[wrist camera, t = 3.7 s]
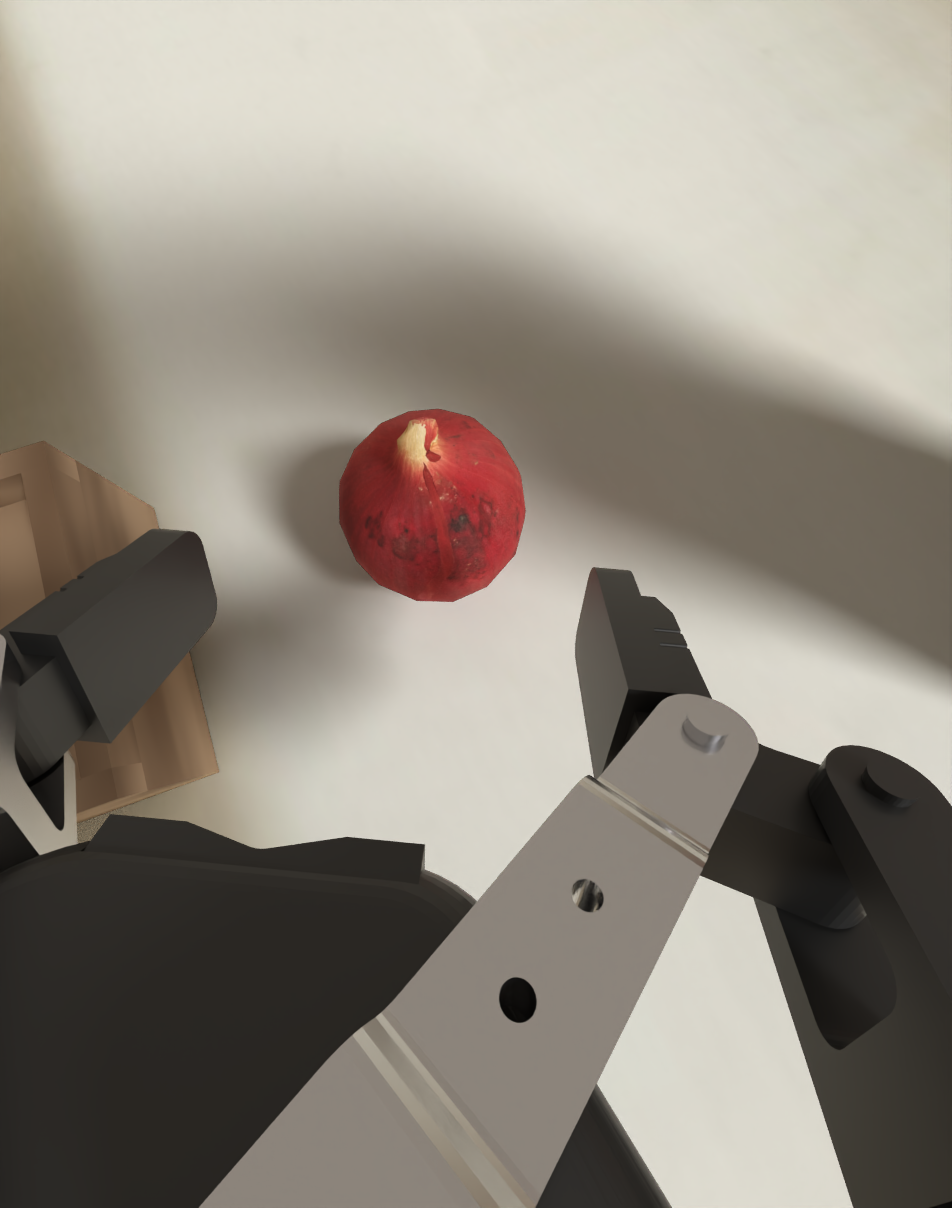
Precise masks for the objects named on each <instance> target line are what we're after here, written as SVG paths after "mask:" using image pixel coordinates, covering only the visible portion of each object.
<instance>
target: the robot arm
mask: <svg viewBox="0 0 952 1208" xmlns="http://www.w3.org/2000/svg"><path fill="white" fill-rule="evenodd" d="M216 611H217V598H216V593H215V589H214V586H213V582H212V578H211V574H210V570H209V567H208V563H207V559H206V555H205V551H204V548H203V544H202V541H201V539H200V538H199V536H198V535H197V534H196V533H194V532H191V531H179V530H168V529H151V530H149V531H147V532H146V533H145V534H143V535H142V536H140V537H139V538H138V539H136V540H135V541H133V542H132V543H131V544H129V545H128V546H126V547H125V548H124V549H122V550H121V551H119V552H118V553H117V554H114V555H112V556H109V557H107V558H105V559H102V560H100V561H98V562H96V563H95V564H93V565H92V566H90V567H89V568H88V569H86V570H85V571H83V572H82V573H80V574H79V575H78V576H77V579H72V580H70V581H69V582H68V583H66V584H65V585H63V586H62V587H61V588H60V591H55V592H53V593H52V594H51V595H49V596H48V597H46V598H45V599H43V600H42V601H41V602H39V603H38V604H36V605H35V606H33V607H32V608H31V609H29V610H28V611H26V612H25V613H24V614H22V615H21V616H19V617H18V618H16V619H15V620H14V621H12V622H11V623H9V624H8V625H6V626H5V627H4V628H2V629H1V630H0V1208H672V1207H671V1205H670V1204H669V1202H668V1200H667V1199H666V1197H665V1195H664V1194H663V1192H662V1190H661V1189H660V1187H659V1186H658V1184H657V1182H656V1181H655V1179H654V1177H653V1176H652V1174H651V1172H650V1171H649V1169H648V1167H647V1166H646V1164H645V1163H644V1161H643V1159H642V1158H641V1156H640V1154H639V1153H638V1151H637V1149H636V1148H635V1146H634V1144H633V1143H632V1141H631V1139H630V1138H629V1136H628V1135H627V1133H626V1131H625V1130H624V1128H623V1126H622V1125H621V1123H620V1121H619V1120H618V1118H617V1116H616V1115H615V1113H614V1112H613V1110H612V1108H611V1107H610V1105H609V1103H608V1102H607V1100H606V1098H605V1097H604V1095H603V1093H602V1092H601V1090H600V1089H599V1087H598V1085H597V1081H598V1079H599V1077H600V1075H601V1073H602V1071H603V1069H604V1067H605V1065H606V1063H607V1061H608V1059H609V1057H610V1055H611V1053H612V1051H613V1049H614V1047H615V1045H616V1043H617V1041H618V1039H619V1037H620V1035H621V1033H622V1031H623V1029H624V1027H625V1025H626V1023H627V1021H628V1019H629V1017H630V1015H631V1013H632V1011H633V1009H634V1007H635V1005H636V1003H637V1001H638V999H639V997H640V995H641V993H642V991H643V989H644V987H645V985H646V983H647V981H648V979H649V977H650V975H651V973H652V970H653V968H654V966H655V964H656V962H657V960H658V958H659V956H660V954H661V952H662V950H663V948H664V946H665V944H666V942H667V940H668V938H669V936H670V934H671V932H672V930H673V928H674V926H675V924H676V922H677V920H678V918H679V916H680V914H681V912H682V910H683V908H684V906H685V904H686V902H687V900H688V898H689V896H690V894H691V892H692V890H693V888H694V886H695V884H696V882H697V880H698V878H699V876H703V877H705V878H708V879H710V880H713V881H715V882H717V883H720V884H722V885H725V886H727V887H730V888H732V889H734V890H737V891H739V892H742V893H744V894H746V895H749V896H751V897H753V898H754V901H755V904H756V908H757V911H758V914H759V917H760V920H761V923H762V926H763V929H764V932H765V935H766V938H767V942H768V945H769V948H770V951H771V954H772V957H773V960H774V963H775V966H776V969H777V973H778V976H779V979H780V982H781V985H782V988H783V991H784V994H785V997H786V1000H787V1004H788V1007H789V1010H790V1013H791V1016H792V1019H793V1022H794V1025H795V1028H796V1031H797V1034H798V1038H799V1041H800V1044H801V1047H802V1050H803V1053H804V1056H805V1059H806V1062H807V1065H808V1069H809V1072H810V1075H811V1078H812V1081H813V1084H814V1087H815V1090H816V1093H817V1096H818V1099H819V1103H820V1106H821V1109H822V1112H823V1115H824V1118H825V1121H826V1124H827V1127H828V1130H829V1134H830V1137H831V1140H832V1143H833V1146H834V1149H835V1152H836V1155H837V1158H838V1161H839V1165H840V1168H841V1171H842V1174H843V1177H844V1180H845V1183H846V1186H847V1189H848V1192H849V1195H850V1199H851V1202H852V1205H853V1208H952V806H951V805H950V803H949V802H948V801H947V799H946V798H945V797H944V796H943V794H942V793H941V792H940V791H939V790H938V788H937V787H936V786H935V785H934V784H932V783H931V782H930V781H929V780H928V779H927V778H926V777H925V776H923V775H922V774H921V773H920V772H918V771H917V770H915V769H914V768H912V767H911V766H909V765H908V764H906V763H904V762H902V761H901V760H899V759H897V758H895V757H893V756H891V755H889V754H886V753H883V752H881V751H878V750H875V749H871V748H868V747H862V746H854V745H848V746H841V747H837V748H835V749H833V750H831V752H830V753H829V754H828V755H827V756H826V758H825V759H824V761H823V762H822V764H821V765H819V764H816V763H813V762H810V761H807V760H804V759H801V758H798V757H795V756H792V755H788V754H785V753H782V752H779V751H776V750H773V749H771V748H768V747H765V746H763V745H761V744H759V743H758V740H757V737H756V735H755V733H754V731H753V729H752V728H751V726H750V725H749V724H748V723H747V722H746V720H745V719H744V718H743V717H741V716H740V715H739V714H738V713H737V712H735V711H734V710H732V709H731V708H729V707H728V706H726V705H724V704H722V703H720V702H718V701H716V700H713V699H712V698H711V695H710V693H709V691H708V689H707V687H706V685H705V682H704V680H703V678H702V676H701V674H700V672H699V669H698V667H697V665H696V663H695V661H694V658H693V656H692V654H691V652H690V650H689V649H687V643H686V641H685V639H684V637H683V635H682V634H680V631H681V630H680V628H679V626H678V624H677V622H676V619H675V617H674V615H673V613H672V612H671V611H670V610H669V609H668V608H666V607H665V606H664V605H663V604H662V603H661V602H660V601H659V600H658V599H657V598H655V597H647V596H641V594H640V592H639V589H638V587H637V584H636V581H635V579H634V576H633V574H632V572H631V571H629V570H618V569H607V568H595V567H594V568H592V570H591V572H590V574H589V578H588V582H587V587H586V591H585V596H584V601H583V605H582V610H581V614H580V619H579V624H578V628H577V634H576V643H575V658H576V665H577V672H578V678H579V684H580V691H581V697H582V703H583V710H584V716H585V723H586V729H587V735H588V742H589V748H590V754H591V761H592V767H593V773H594V778H593V777H592V776H590V775H588V776H585V777H584V778H583V779H581V780H580V781H579V782H578V783H577V784H576V786H575V787H574V788H573V789H572V790H571V791H570V793H569V794H568V795H567V796H566V797H565V798H564V800H563V801H562V802H561V803H560V804H559V805H558V807H557V808H556V809H555V810H554V811H553V813H552V814H551V815H550V816H549V817H548V818H547V820H546V821H545V822H544V823H543V824H542V826H541V827H540V828H539V829H538V830H537V831H536V833H535V834H534V835H533V836H532V837H531V839H530V840H529V841H528V842H527V843H526V844H525V846H524V847H523V848H522V849H521V850H520V852H519V853H518V854H517V855H516V856H515V857H514V859H513V860H512V861H511V862H510V863H509V865H508V866H507V867H506V868H505V869H504V870H503V872H502V873H501V874H500V875H499V876H498V878H497V879H496V880H495V881H494V882H493V883H492V885H491V886H490V887H489V888H488V889H487V891H486V892H485V893H484V894H483V895H482V896H481V898H480V899H479V900H478V901H476V900H475V899H474V898H473V897H472V896H471V895H469V894H468V893H467V892H465V891H464V890H462V889H461V888H460V887H458V886H457V885H456V884H454V883H452V882H450V881H448V880H447V879H445V878H443V877H441V876H439V875H437V874H435V873H432V872H430V871H427V870H425V844H414V843H404V842H393V841H383V840H373V839H362V838H352V837H344V838H337V839H330V840H323V841H316V842H309V843H302V844H295V845H289V846H282V847H275V848H268V849H256V848H252V847H249V846H247V845H244V844H242V843H239V842H237V841H234V840H232V839H229V838H227V837H224V836H222V835H219V834H217V833H214V832H212V831H209V830H207V829H204V828H202V827H199V826H197V825H194V824H192V823H189V822H186V821H176V820H165V819H155V818H145V817H134V816H124V815H114V814H110V815H109V817H108V818H107V819H106V821H105V822H104V823H103V825H102V826H101V828H100V829H99V830H98V832H97V833H96V834H95V836H94V837H93V838H92V840H91V841H87V842H83V843H79V844H77V816H76V781H75V762H74V759H73V757H72V755H71V754H70V752H69V750H68V749H69V748H70V747H71V746H72V745H73V744H74V743H75V742H76V741H88V742H99V743H109V744H111V743H112V741H113V740H114V739H115V738H116V737H117V736H118V734H119V733H120V732H121V731H122V730H123V729H124V727H125V726H126V725H127V724H128V723H129V721H130V720H131V719H132V718H133V717H134V716H135V714H136V713H137V712H138V711H139V710H140V708H141V707H142V706H143V705H144V704H145V703H146V701H147V700H148V699H149V698H150V697H151V696H152V694H153V693H154V692H155V691H156V690H157V688H158V687H159V686H160V685H161V684H162V683H163V681H164V680H165V679H166V678H167V677H168V676H169V674H170V673H171V672H172V671H173V670H174V668H175V667H176V666H177V665H178V664H179V663H180V661H181V660H182V659H183V658H184V657H185V656H186V654H187V653H188V652H189V651H190V650H191V648H192V647H193V646H194V645H195V644H196V643H197V641H198V640H199V639H200V638H201V637H202V636H203V634H204V633H205V632H206V631H207V630H208V628H209V627H210V626H211V625H212V623H213V621H214V618H215V615H216Z"/></svg>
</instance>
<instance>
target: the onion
mask: <svg viewBox="0 0 952 1208" xmlns="http://www.w3.org/2000/svg"><path fill="white" fill-rule="evenodd" d="M525 511H526V510H525V502H524V495H523V487H522V479H521V476H520V473H519V471H518V468H517V467H516V465H515V463H514V462H513V460H512V459H511V457H510V455H509V454H508V452H507V451H506V449H505V447H504V446H503V444H502V442H501V441H500V440H499V439H498V438H497V437H495V436H494V435H493V434H492V433H491V432H490V431H488V430H487V429H486V428H485V427H484V426H483V425H481V424H480V423H479V422H478V421H477V420H476V419H474V418H472V417H470V416H466V415H462V414H458V413H454V412H450V411H445V410H441V409H431V410H419V411H409V412H406V413H404V414H402V415H399V416H397V417H395V418H392V419H390V420H387V421H385V422H383V423H381V424H380V425H379V426H378V427H377V428H376V429H375V430H374V431H373V432H372V433H371V434H370V435H369V436H368V437H367V438H365V439H364V440H363V441H362V442H361V443H360V444H359V445H358V446H357V447H356V448H355V449H354V451H353V453H352V456H351V458H350V460H349V462H348V464H347V467H346V469H345V471H344V473H343V475H342V478H341V480H340V485H339V519H340V525H341V527H342V530H343V532H344V534H345V536H346V539H347V541H348V543H349V546H350V548H351V550H352V552H353V555H354V557H355V559H356V561H357V562H358V563H359V564H360V565H361V566H362V567H363V568H364V569H365V571H366V572H367V573H368V574H369V575H370V576H371V577H372V578H373V579H374V580H375V581H376V582H377V583H378V584H379V585H381V586H383V587H386V588H388V589H391V590H393V591H395V592H398V593H400V594H402V595H405V596H407V597H409V598H412V599H414V600H416V601H441V602H454V601H456V600H458V599H460V598H463V597H465V596H467V595H469V594H472V593H474V592H476V591H478V590H481V589H483V588H485V587H487V586H488V585H489V584H490V583H491V582H492V580H493V579H494V578H495V577H496V576H497V575H498V574H499V572H500V571H501V570H502V569H503V568H504V567H505V566H506V564H507V563H508V562H509V561H510V560H511V559H512V558H513V557H514V555H515V554H516V550H517V546H518V543H519V539H520V535H521V531H522V527H523V523H524V519H525Z"/></svg>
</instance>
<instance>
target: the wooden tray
mask: <svg viewBox="0 0 952 1208" xmlns="http://www.w3.org/2000/svg"><path fill="white" fill-rule="evenodd" d="M151 529H159V526H158V522H157V518H156V514H155V510H154V508H153V507H151V506H150V505H148V504H146V503H145V502H143V501H142V500H140V499H138V498H137V497H135V496H133V495H132V494H130V493H128V492H127V491H125V490H123V489H122V488H120V487H119V486H117V485H115V484H114V483H112V482H110V481H109V480H107V479H105V478H104V477H102V476H101V475H99V474H97V473H96V472H94V471H92V470H91V469H89V468H87V467H86V466H84V465H82V464H81V463H79V462H78V461H76V460H74V459H73V458H71V457H69V456H68V455H66V454H64V453H63V452H61V451H60V450H58V449H56V448H55V447H53V446H51V445H50V444H48V443H46V442H45V441H41V442H38V443H35V444H31V445H28V446H25V447H22V448H19V449H15V450H12V451H9V452H6V453H3V454H0V630H1V629H2V628H4V627H5V626H6V625H8V624H9V623H11V622H12V621H14V620H15V619H16V618H18V617H19V616H21V615H22V614H24V613H25V612H26V611H28V610H29V609H31V608H32V607H33V606H35V605H36V604H38V603H39V602H41V601H42V600H43V599H45V598H46V597H48V596H49V595H51V594H52V593H53V592H55V591H60V588H61V587H62V586H63V585H65V584H66V583H68V582H69V581H70V580H72V579H77V576H78V575H79V574H80V573H82V572H83V571H85V570H86V569H88V568H89V567H90V566H92V565H93V564H95V563H96V562H98V561H100V560H102V559H105V558H107V557H109V556H112V555H114V554H117V553H118V552H119V551H121V550H122V549H124V548H125V547H126V546H128V545H129V544H131V543H132V542H133V541H135V540H136V539H138V538H139V537H140V536H142V535H143V534H145V533H146V532H147V531H149V530H151ZM68 750H69V752H70V754H71V755H72V757H73V759H74V762H75V781H76V816H77V823H80V822H83V821H85V820H88V819H91V818H94V817H97V816H99V815H102V814H105V813H108V812H110V811H113V810H116V809H119V808H121V807H124V806H127V805H130V804H132V803H135V802H138V801H141V800H144V799H146V798H149V797H152V796H155V795H157V794H160V793H163V792H166V791H168V790H171V789H174V788H177V787H179V786H182V785H185V784H188V783H191V782H193V781H196V780H199V779H202V778H204V777H207V776H210V775H213V774H215V773H218V772H219V769H218V765H217V761H216V757H215V753H214V749H213V745H212V741H211V737H210V733H209V729H208V724H207V720H206V716H205V712H204V708H203V704H202V700H201V696H200V692H199V688H198V684H197V680H196V676H195V672H194V668H193V664H192V660H191V656H190V652H188V653H187V654H186V656H185V657H184V658H183V659H182V660H181V661H180V663H179V664H178V665H177V666H176V667H175V668H174V670H173V671H172V672H171V673H170V674H169V676H168V677H167V678H166V679H165V680H164V681H163V683H162V684H161V685H160V686H159V687H158V688H157V690H156V691H155V692H154V693H153V694H152V696H151V697H150V698H149V699H148V700H147V701H146V703H145V704H144V705H143V706H142V707H141V708H140V710H139V711H138V712H137V713H136V714H135V716H134V717H133V718H132V719H131V720H130V721H129V723H128V724H127V725H126V726H125V727H124V729H123V730H122V731H121V732H120V733H119V734H118V736H117V737H116V738H115V739H114V740H113V741H112V743H111V744H109V743H99V742H88V741H76V742H75V743H74V744H73V745H72V746H71V747H70V748H69V749H68Z"/></svg>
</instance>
